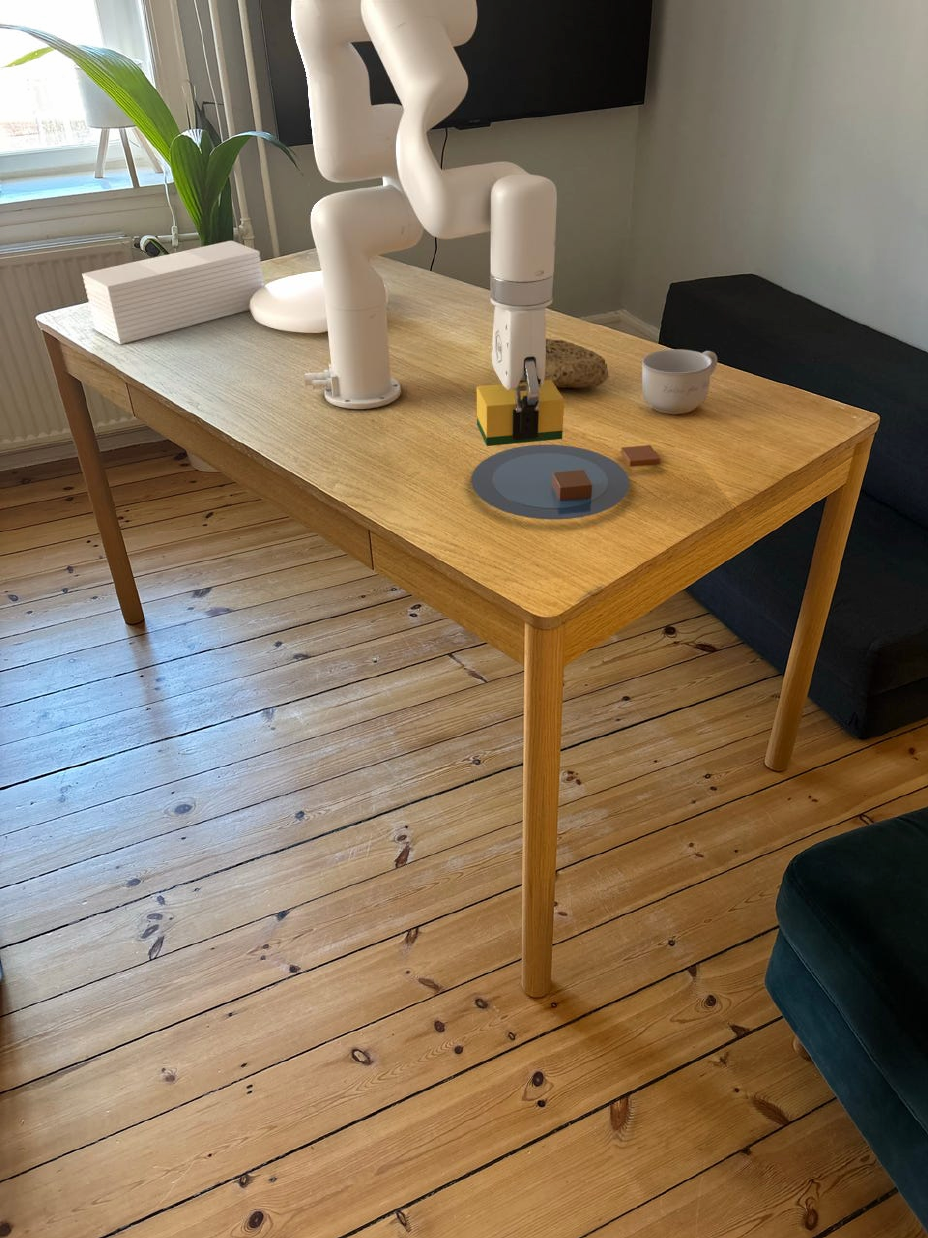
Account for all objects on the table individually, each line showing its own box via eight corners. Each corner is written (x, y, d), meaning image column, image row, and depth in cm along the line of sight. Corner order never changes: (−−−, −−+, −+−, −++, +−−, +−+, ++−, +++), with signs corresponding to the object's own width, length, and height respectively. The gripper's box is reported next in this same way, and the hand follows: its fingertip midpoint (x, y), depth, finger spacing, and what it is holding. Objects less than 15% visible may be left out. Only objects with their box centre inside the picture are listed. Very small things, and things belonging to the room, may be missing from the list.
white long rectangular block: (238, 293, 207) (231, 240, 201) (266, 305, 201) (259, 250, 194) (95, 329, 190) (81, 273, 184) (120, 344, 184) (107, 286, 177)
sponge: (485, 378, 171) (554, 393, 155) (487, 332, 169) (557, 342, 153) (546, 376, 178) (618, 390, 162) (549, 331, 175) (622, 341, 159)
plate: (319, 324, 177) (217, 298, 190) (325, 358, 181) (225, 330, 194) (414, 269, 193) (315, 248, 206) (418, 301, 198) (320, 279, 211)
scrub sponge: (486, 446, 126) (486, 406, 122) (476, 424, 131) (476, 385, 128) (562, 439, 127) (564, 399, 124) (549, 418, 132) (551, 379, 129)
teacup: (661, 425, 152) (667, 376, 148) (625, 400, 160) (629, 352, 156) (736, 410, 157) (743, 361, 152) (696, 385, 165) (703, 339, 160)
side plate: (486, 535, 127) (486, 526, 126) (459, 458, 144) (458, 450, 143) (650, 519, 129) (651, 510, 129) (604, 446, 147) (605, 438, 146)
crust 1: (559, 500, 131) (560, 487, 130) (551, 485, 135) (552, 472, 133) (591, 498, 132) (592, 484, 130) (582, 482, 135) (583, 469, 134)
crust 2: (629, 473, 140) (630, 461, 138) (620, 459, 143) (621, 447, 142) (658, 471, 140) (660, 458, 139) (649, 457, 144) (650, 444, 143)
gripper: (477, 269, 124) (477, 402, 135) (506, 314, 110) (504, 458, 121) (535, 265, 125) (531, 397, 136) (571, 309, 112) (563, 453, 122)
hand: (518, 425), depth 128 cm, fingers closed on scrub sponge, 6 cm apart
